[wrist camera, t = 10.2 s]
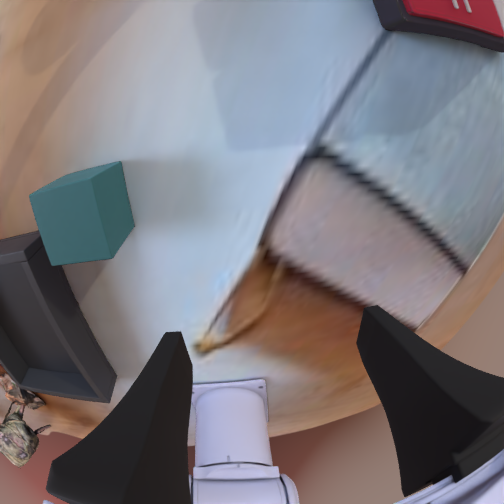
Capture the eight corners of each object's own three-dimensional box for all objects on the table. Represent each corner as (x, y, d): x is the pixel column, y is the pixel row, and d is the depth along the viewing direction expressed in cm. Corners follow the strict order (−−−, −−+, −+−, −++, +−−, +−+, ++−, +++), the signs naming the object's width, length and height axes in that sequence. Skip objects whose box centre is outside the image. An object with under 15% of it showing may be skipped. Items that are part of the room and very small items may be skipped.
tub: (117, 376, 25) (109, 403, 22) (30, 367, 24) (20, 388, 21) (48, 228, 17) (23, 250, 14) (-35, 249, 16) (-55, 267, 13)
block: (135, 226, 18) (112, 259, 14) (80, 234, 17) (51, 266, 14) (121, 160, 16) (91, 177, 12) (65, 175, 15) (28, 195, 11)
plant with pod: (36, 414, 30) (11, 507, 12) (-9, 369, 25) (-50, 468, 7) (64, 416, 30) (39, 524, 12) (13, 368, 24) (-31, 486, 7)
